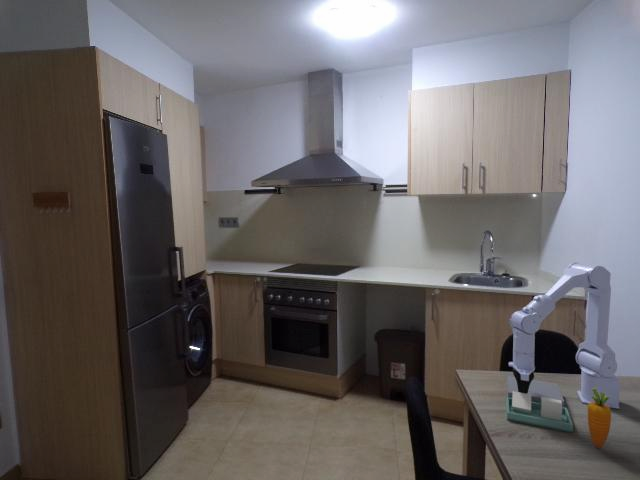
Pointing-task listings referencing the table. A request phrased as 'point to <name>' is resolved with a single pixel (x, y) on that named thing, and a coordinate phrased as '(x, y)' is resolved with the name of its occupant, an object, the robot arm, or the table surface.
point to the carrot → (599, 419)
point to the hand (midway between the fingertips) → (522, 394)
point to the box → (539, 417)
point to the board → (536, 390)
